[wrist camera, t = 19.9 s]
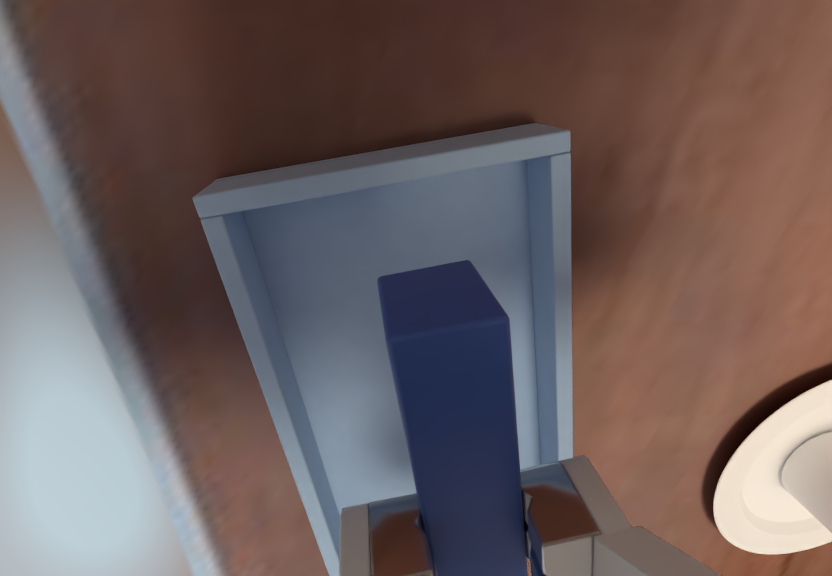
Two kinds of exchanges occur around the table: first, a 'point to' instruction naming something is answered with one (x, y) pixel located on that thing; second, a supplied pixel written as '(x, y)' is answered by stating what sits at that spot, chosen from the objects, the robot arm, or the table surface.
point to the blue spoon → (458, 415)
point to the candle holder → (781, 480)
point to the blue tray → (360, 304)
